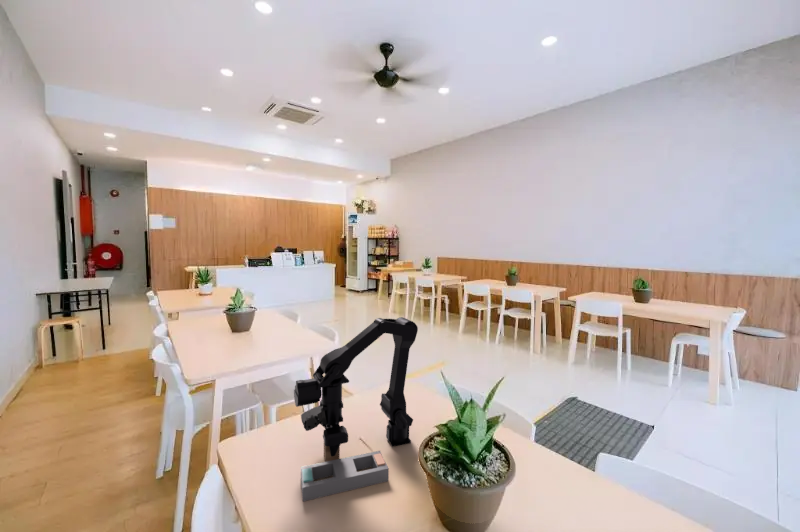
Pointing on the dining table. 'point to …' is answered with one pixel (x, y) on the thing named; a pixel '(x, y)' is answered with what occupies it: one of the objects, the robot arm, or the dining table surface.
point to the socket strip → (343, 475)
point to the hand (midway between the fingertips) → (331, 450)
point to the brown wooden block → (328, 455)
